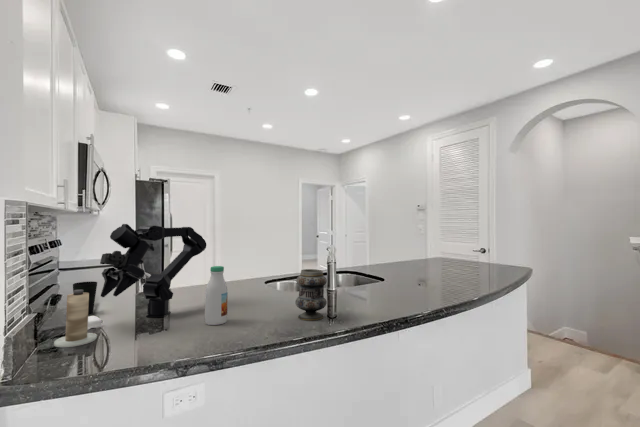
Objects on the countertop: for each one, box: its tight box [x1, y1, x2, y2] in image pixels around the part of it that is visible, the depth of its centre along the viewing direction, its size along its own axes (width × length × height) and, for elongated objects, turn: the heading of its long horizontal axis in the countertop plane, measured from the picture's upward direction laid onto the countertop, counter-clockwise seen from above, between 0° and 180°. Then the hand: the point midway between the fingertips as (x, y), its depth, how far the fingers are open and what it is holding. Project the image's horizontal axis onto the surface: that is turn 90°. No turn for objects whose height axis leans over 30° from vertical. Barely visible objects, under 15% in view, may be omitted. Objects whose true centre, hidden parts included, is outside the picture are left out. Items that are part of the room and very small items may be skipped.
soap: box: [88, 315, 104, 330], centre depth 108 cm, size 9×7×3 cm
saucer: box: [53, 332, 98, 349], centre depth 94 cm, size 10×10×1 cm
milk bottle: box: [204, 265, 229, 326], centre depth 114 cm, size 8×8×20 cm
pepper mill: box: [64, 289, 89, 341], centre depth 94 cm, size 5×5×14 cm
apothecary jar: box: [295, 268, 328, 322], centre depth 121 cm, size 12×12×18 cm
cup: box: [72, 280, 98, 316], centre depth 122 cm, size 8×8×12 cm
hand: (108, 296), depth 103 cm, fingers open, 9 cm apart
